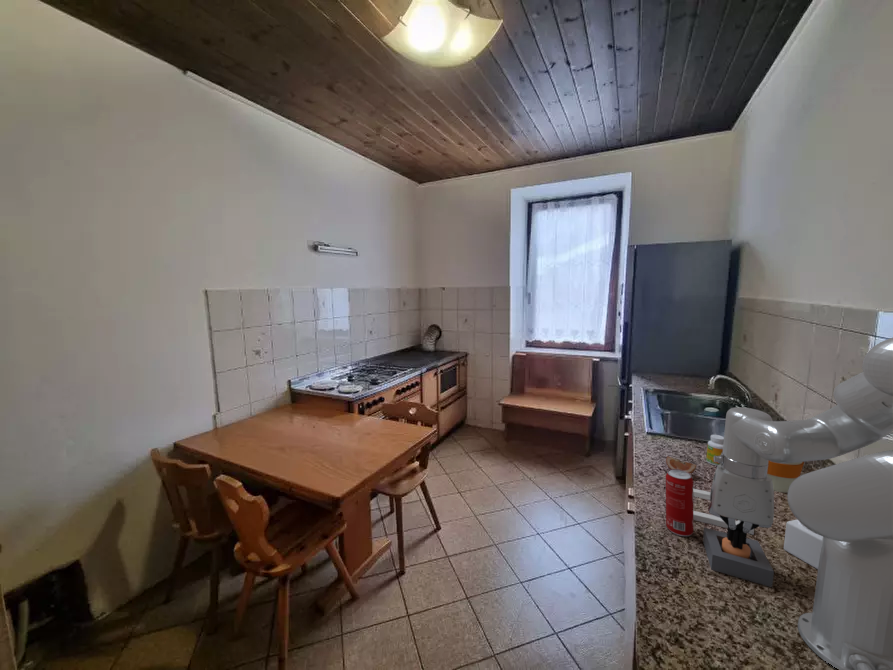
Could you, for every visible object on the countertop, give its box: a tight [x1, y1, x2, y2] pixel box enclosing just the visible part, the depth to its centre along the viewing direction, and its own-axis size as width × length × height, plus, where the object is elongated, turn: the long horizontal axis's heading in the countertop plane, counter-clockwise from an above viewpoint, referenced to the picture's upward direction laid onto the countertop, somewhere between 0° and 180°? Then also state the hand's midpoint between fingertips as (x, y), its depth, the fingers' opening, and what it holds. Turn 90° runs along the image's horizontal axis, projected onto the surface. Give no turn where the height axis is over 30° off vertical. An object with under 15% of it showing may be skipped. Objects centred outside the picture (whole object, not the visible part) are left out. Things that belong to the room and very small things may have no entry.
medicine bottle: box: [783, 518, 823, 570], centre depth 78 cm, size 7×7×12 cm
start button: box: [722, 537, 751, 559], centre depth 77 cm, size 5×5×2 cm
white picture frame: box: [693, 488, 755, 535], centre depth 96 cm, size 15×15×2 cm
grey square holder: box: [702, 527, 775, 588], centre depth 77 cm, size 10×10×4 cm
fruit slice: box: [665, 455, 698, 475], centre depth 115 cm, size 8×7×5 cm
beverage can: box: [665, 469, 694, 537], centre depth 87 cm, size 6×6×15 cm
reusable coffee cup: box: [767, 461, 805, 494], centre depth 108 cm, size 13×13×15 cm
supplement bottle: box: [705, 434, 724, 467], centre depth 122 cm, size 5×5×10 cm
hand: (735, 544), depth 77 cm, fingers closed
